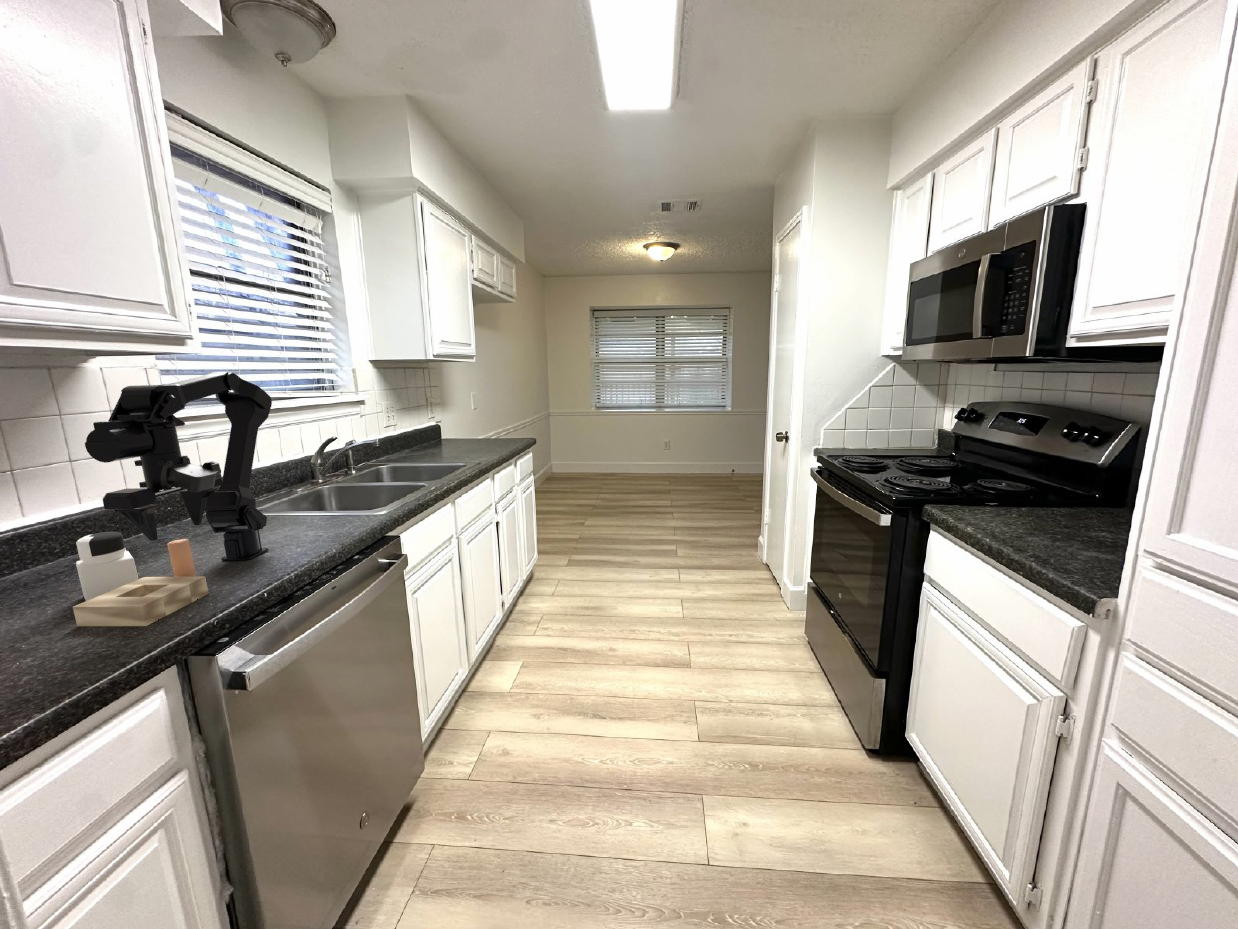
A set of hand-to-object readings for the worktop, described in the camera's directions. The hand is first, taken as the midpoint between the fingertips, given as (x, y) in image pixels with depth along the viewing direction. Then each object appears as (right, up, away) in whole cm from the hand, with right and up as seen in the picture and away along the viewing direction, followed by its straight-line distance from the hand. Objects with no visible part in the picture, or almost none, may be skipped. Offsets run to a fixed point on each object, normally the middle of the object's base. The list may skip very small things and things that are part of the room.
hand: (176, 532), depth 96 cm
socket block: (+2, -13, -8) cm, 15 cm away
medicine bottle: (-11, -12, -1) cm, 16 cm away
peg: (0, -11, +2) cm, 11 cm away
